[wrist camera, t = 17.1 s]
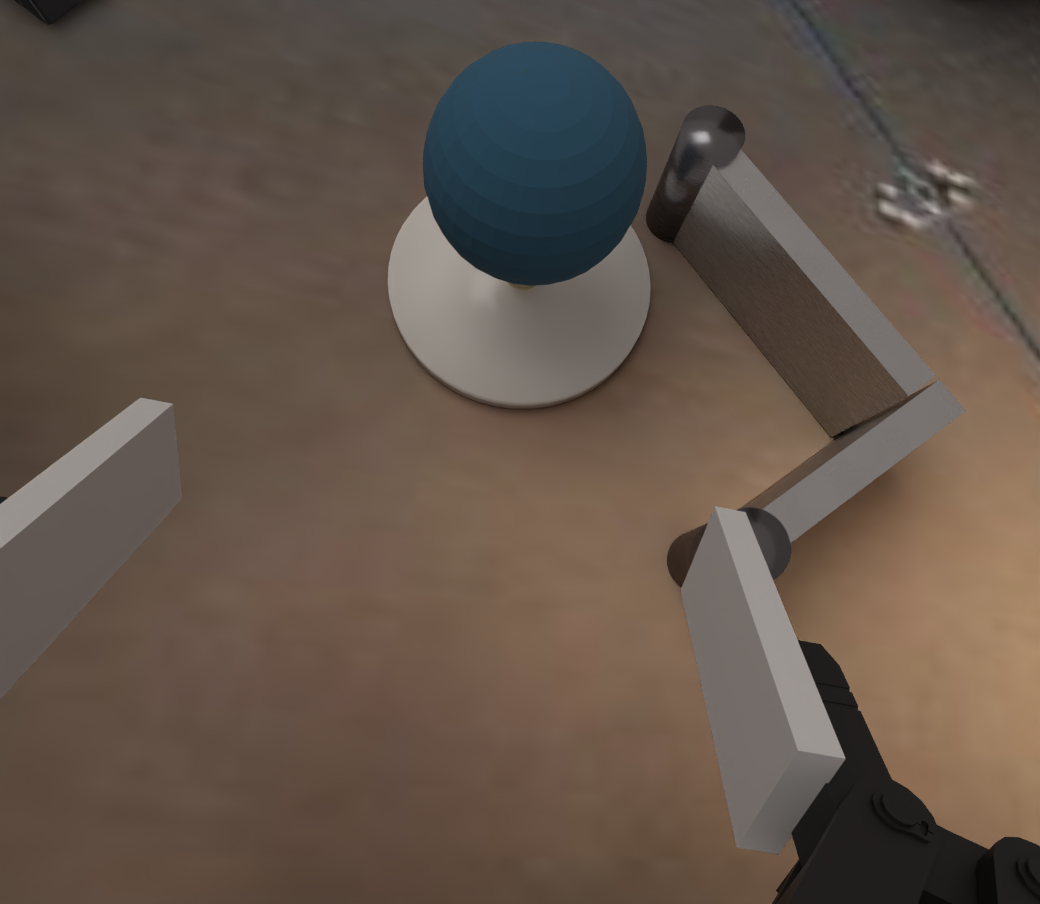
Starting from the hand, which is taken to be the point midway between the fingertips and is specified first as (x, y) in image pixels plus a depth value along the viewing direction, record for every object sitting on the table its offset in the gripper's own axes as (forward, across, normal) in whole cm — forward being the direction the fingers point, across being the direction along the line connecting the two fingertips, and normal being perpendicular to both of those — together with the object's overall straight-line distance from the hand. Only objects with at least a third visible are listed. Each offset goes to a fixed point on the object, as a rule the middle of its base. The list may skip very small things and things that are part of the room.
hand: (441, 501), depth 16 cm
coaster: (+20, +1, 0) cm, 20 cm away
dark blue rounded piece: (+19, +1, 0) cm, 19 cm away
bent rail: (+17, +10, -3) cm, 20 cm away
